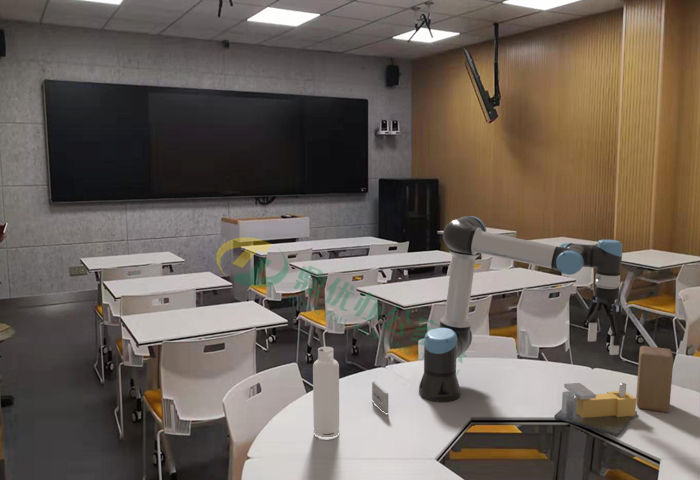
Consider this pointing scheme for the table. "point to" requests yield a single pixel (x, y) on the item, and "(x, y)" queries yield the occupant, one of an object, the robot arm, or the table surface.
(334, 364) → the bottle
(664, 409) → the wooden block
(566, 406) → the block
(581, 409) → the link
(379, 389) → the cassette
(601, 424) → the base
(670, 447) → the table surface
